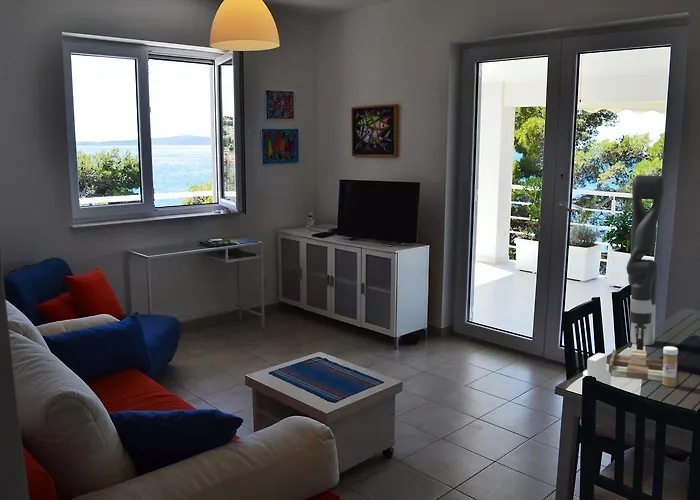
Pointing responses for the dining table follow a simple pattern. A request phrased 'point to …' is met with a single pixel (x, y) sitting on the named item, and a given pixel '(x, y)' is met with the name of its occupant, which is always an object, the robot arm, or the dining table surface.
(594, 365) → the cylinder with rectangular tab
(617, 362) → the trap deck
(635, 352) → the beech block
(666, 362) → the sprinkles bottle
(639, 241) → the robot arm
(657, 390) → the dining table surface
